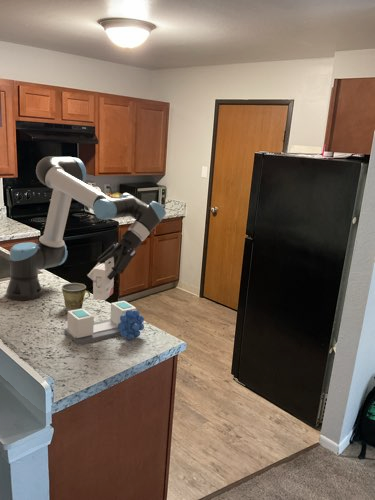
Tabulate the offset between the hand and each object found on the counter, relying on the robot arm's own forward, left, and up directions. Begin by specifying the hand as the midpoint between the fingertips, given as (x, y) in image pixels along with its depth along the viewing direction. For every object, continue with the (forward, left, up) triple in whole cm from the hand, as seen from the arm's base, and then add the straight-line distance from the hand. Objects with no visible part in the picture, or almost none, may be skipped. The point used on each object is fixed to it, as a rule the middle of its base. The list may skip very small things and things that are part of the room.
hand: (95, 281), depth 154 cm
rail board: (0, +3, -21) cm, 21 cm away
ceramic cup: (-25, +4, -21) cm, 33 cm away
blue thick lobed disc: (+12, +9, -21) cm, 26 cm away
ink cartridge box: (0, +3, -6) cm, 7 cm away
